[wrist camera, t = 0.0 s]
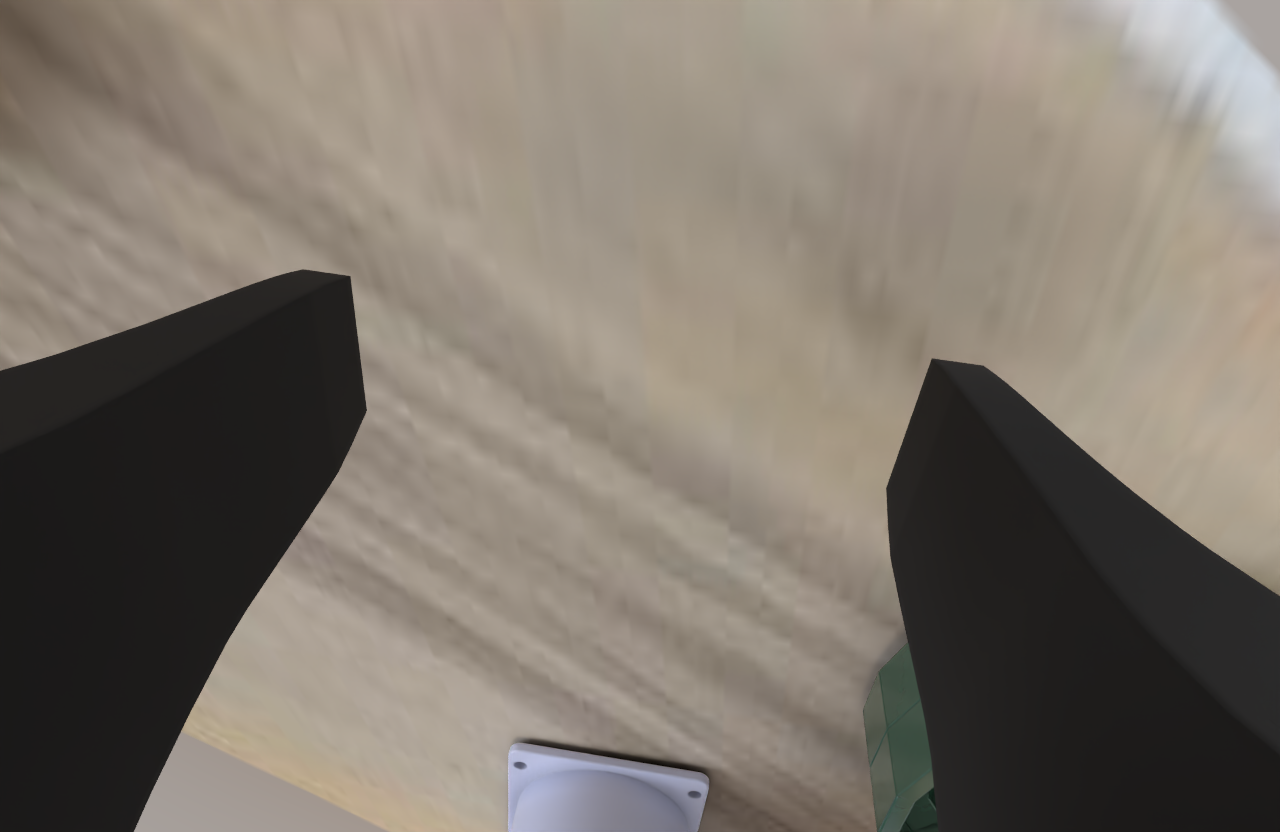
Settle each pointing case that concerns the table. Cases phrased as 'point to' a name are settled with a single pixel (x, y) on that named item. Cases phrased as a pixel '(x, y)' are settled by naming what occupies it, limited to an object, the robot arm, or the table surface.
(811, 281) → the table surface
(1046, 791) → the robot arm
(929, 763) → the bowl
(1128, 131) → the table surface
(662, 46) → the table surface
